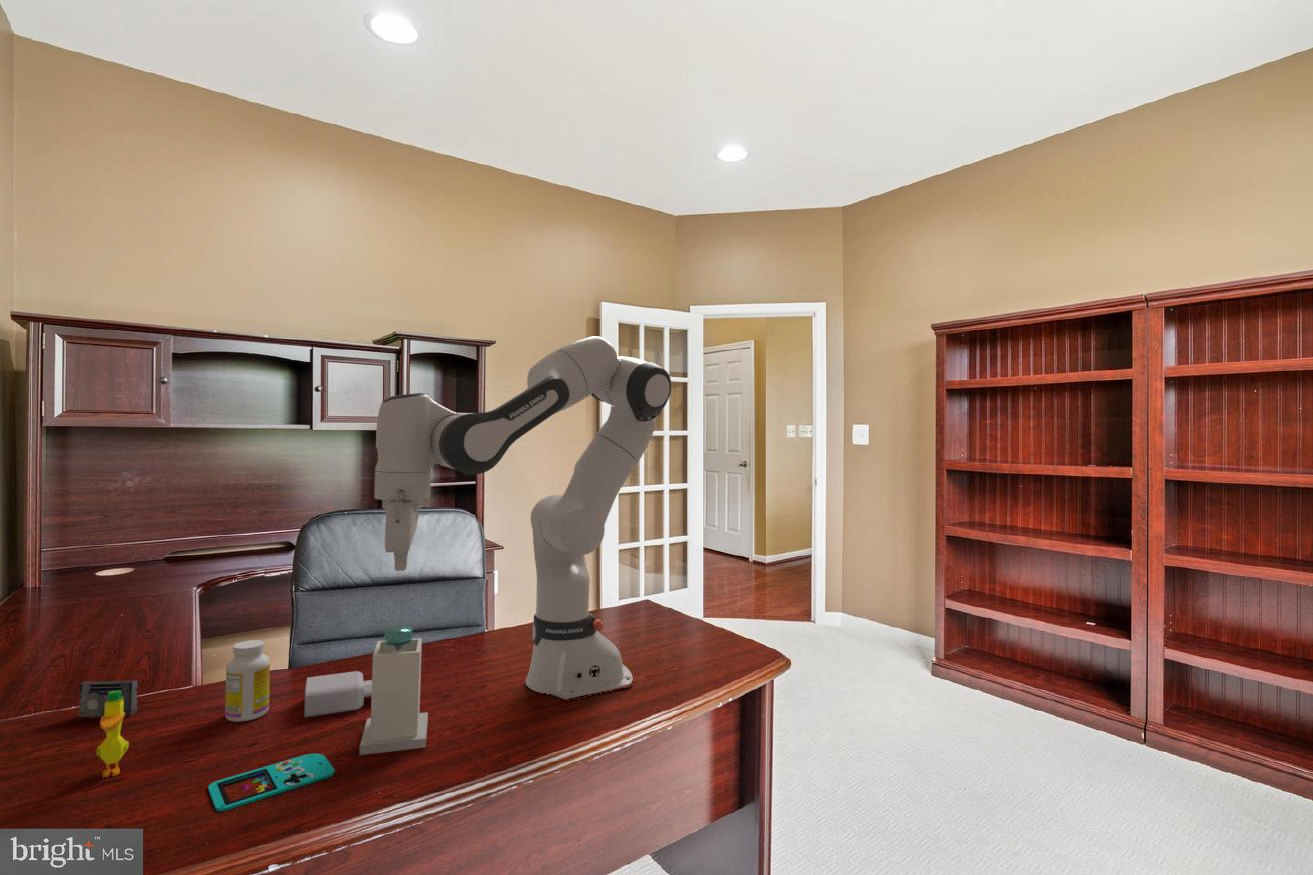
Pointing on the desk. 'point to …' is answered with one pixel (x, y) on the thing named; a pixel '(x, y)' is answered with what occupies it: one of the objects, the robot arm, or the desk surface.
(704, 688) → the desk surface
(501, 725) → the desk surface
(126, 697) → the mini dv tape
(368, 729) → the press housing
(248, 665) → the supplement bottle
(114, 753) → the toy figure
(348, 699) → the charger
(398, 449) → the robot arm
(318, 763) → the handheld gaming console
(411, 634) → the plunger
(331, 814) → the desk surface
